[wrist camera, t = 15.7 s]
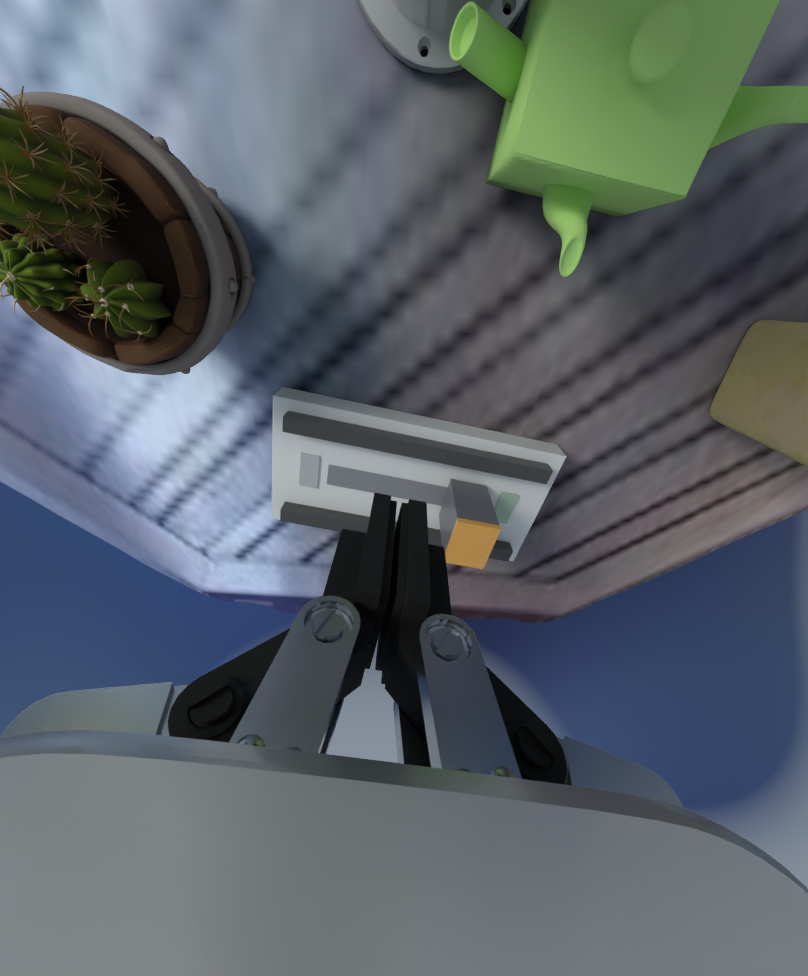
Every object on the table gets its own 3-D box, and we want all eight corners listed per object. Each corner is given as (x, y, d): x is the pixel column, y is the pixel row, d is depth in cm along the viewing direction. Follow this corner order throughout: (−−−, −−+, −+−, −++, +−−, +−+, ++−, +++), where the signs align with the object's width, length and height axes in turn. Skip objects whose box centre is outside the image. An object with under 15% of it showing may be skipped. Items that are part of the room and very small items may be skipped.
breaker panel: (282, 386, 36) (266, 400, 32) (556, 444, 39) (572, 463, 35) (280, 503, 44) (266, 526, 40) (508, 545, 47) (516, 570, 43)
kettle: (702, 160, 26) (863, 100, 17) (528, 287, 31) (577, 296, 22) (641, -121, 20) (841, -466, 11) (435, 91, 25) (447, -19, 15)
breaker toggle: (450, 478, 38) (458, 521, 31) (486, 485, 38) (501, 529, 32) (438, 515, 40) (443, 562, 34) (472, 521, 41) (483, 569, 34)
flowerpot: (269, 371, 36) (135, 463, 19) (107, 315, 33) (-217, 362, 16) (294, 196, 28) (110, 84, 11) (88, 108, 26) (-539, -201, 9)
